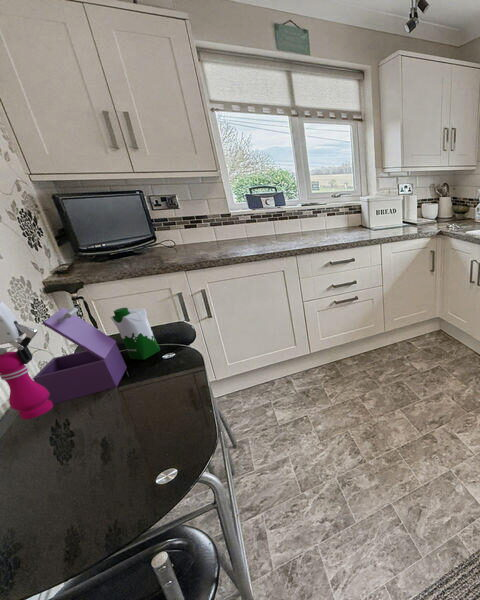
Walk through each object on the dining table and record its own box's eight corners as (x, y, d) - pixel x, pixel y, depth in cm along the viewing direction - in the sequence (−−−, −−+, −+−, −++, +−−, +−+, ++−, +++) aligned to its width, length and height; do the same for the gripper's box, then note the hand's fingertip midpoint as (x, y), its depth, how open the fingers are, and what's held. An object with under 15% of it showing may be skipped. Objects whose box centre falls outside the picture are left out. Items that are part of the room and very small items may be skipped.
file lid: (41, 323, 94) (55, 312, 95) (61, 308, 106) (73, 299, 107) (102, 360, 103) (115, 350, 104) (114, 343, 115) (125, 334, 116)
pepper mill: (18, 425, 85) (-24, 359, 78) (19, 413, 90) (-21, 350, 83) (56, 410, 90) (20, 346, 83) (55, 399, 95) (21, 338, 87)
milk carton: (125, 360, 124) (104, 312, 117) (147, 348, 133) (129, 302, 125) (143, 361, 122) (123, 312, 115) (165, 349, 130) (146, 302, 123)
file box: (48, 405, 100) (32, 378, 97) (66, 383, 112) (52, 358, 108) (116, 386, 107) (104, 360, 104) (126, 367, 119) (116, 343, 115)
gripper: (-95, 315, 71) (-48, 384, 78) (12, 297, 78) (48, 362, 85) (-69, 305, 78) (-28, 370, 84) (28, 289, 85) (60, 350, 91)
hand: (10, 365), depth 85 cm, fingers closed on pepper mill, 6 cm apart
